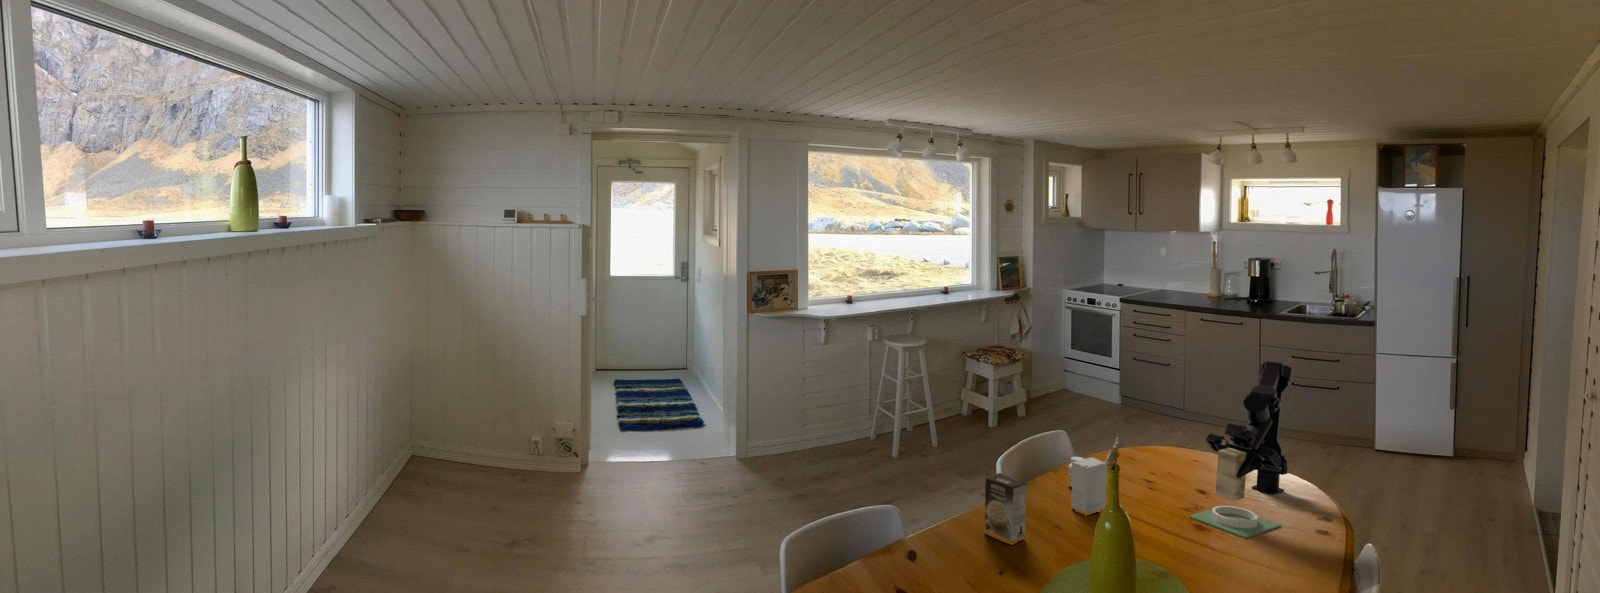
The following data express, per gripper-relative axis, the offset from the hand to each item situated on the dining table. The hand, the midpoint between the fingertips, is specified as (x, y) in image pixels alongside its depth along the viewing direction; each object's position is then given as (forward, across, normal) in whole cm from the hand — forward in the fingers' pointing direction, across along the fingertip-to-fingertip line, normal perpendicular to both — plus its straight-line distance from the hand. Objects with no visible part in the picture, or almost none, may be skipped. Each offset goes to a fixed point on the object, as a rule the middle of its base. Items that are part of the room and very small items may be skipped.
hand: (1228, 474), depth 202 cm
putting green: (+8, +1, +11) cm, 14 cm away
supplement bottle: (+21, -39, -1) cm, 44 cm away
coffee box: (+53, -21, -34) cm, 67 cm away
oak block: (+4, 0, +6) cm, 7 cm away
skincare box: (+29, -24, -10) cm, 39 cm away
